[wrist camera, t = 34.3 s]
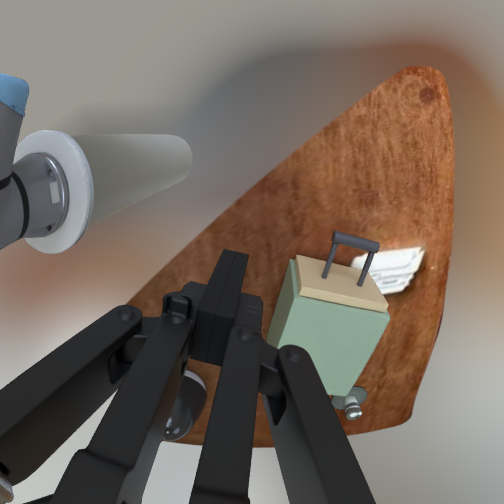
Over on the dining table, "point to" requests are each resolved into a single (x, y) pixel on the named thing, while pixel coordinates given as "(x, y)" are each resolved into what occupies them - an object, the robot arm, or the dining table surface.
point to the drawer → (341, 277)
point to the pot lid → (350, 402)
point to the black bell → (186, 407)
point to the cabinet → (326, 334)
